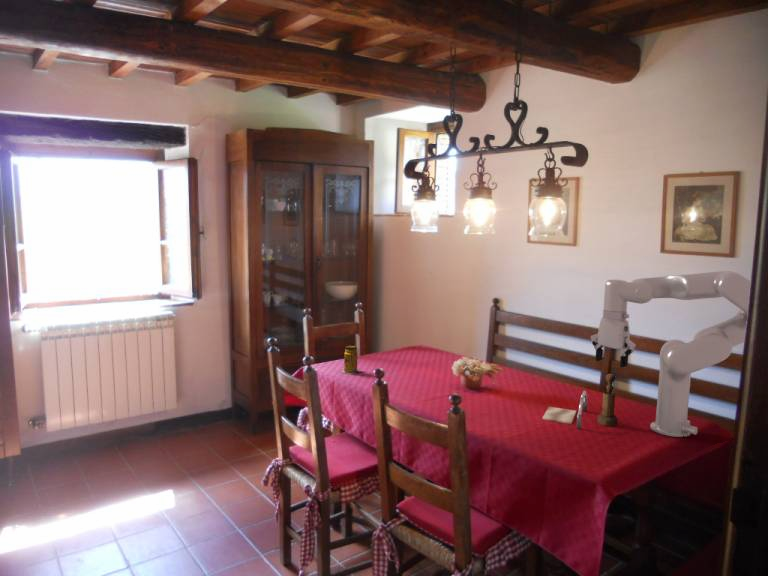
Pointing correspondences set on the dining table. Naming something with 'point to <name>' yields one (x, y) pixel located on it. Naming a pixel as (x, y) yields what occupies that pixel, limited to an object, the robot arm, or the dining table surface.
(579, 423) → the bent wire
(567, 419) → the birch board
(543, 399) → the dining table surface
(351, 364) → the condiment
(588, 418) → the dining table surface
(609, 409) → the mortar and pestle
